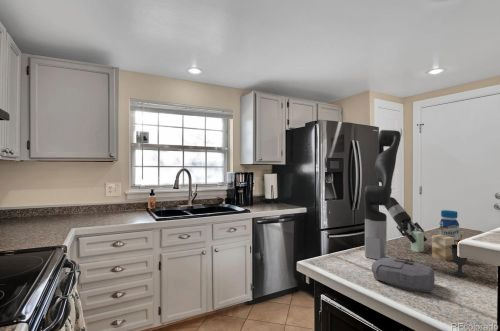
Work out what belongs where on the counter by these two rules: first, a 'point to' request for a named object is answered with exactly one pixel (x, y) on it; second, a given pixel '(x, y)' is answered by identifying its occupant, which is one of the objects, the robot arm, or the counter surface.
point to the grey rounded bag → (404, 274)
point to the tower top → (442, 241)
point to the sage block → (418, 241)
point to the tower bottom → (442, 254)
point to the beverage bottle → (449, 224)
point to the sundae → (458, 260)
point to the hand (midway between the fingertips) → (419, 241)
